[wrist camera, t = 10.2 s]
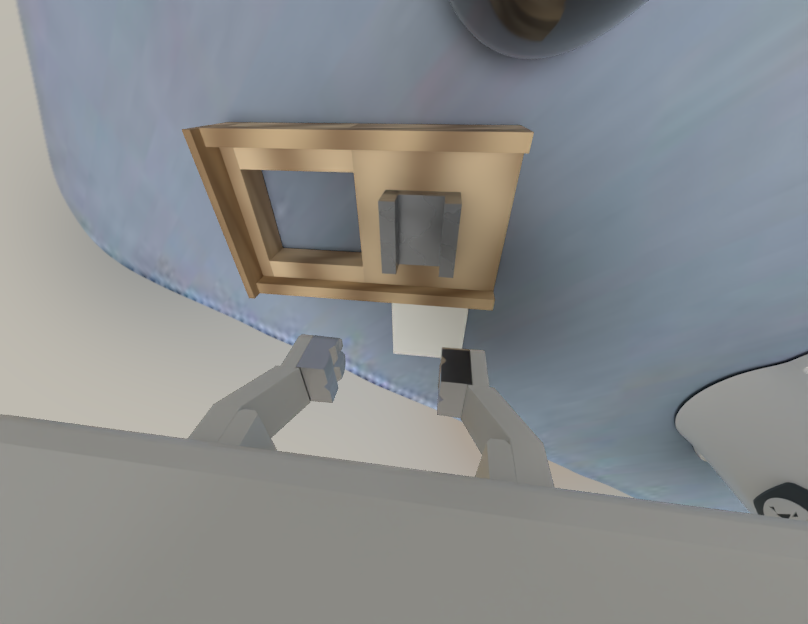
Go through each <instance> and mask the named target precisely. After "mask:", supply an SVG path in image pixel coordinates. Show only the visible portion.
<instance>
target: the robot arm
mask: <svg viewBox="0 0 808 624" xmlns="http://www.w3.org/2000/svg"><path fill="white" fill-rule="evenodd" d="M342 347H343V343H342V339H340V338H333V337H324V336H316V335H315V336H313V335H305V334H302V335H300V336H299V337H298V339H297V340H296V342H295V343H294V345H293V347H292V348H291V350H290V352H289V353H288V355H287V356H286V358H285V360H284V361H283V363H282V365H281V366H275V367H274V368H272V369H270V370H269V371H267V372H265V373H264V374H263V375H261V376H259V377H257V378H256V379H254V380H252V381H251V382H249V383H247V384H246V385H244V386H243V387H241V388H239V389H238V390H236V391H234V392H233V393H231V394H229V395H228V396H226V397H225V398H223V399H222V400H220V401H218V402H216V403H215V404H213V406H212V407H211V408H210V410H209V411H208V412H207V414H206V415H205V416H204V418H203V419H202V420H201V422H200V423H199V424H198V426H197V427H196V428H195V430H194V431H193V432H192V434H191V435H190V436H189V438H188V439H184V438H177V437H169V436H162V435H154V434H147V433H139V432H132V431H124V430H116V429H109V428H102V427H94V426H87V425H79V424H72V423H64V422H56V421H49V420H41V419H34V418H27V417H19V416H12V415H0V624H808V354H807V355H804V356H802V357H799V358H797V359H794V360H792V361H790V362H787V363H783V364H779V365H775V366H771V367H766V368H762V369H757V370H753V371H750V372H746V373H743V374H740V375H736V376H734V377H731V378H728V379H726V380H723V381H721V382H718V383H716V384H714V385H712V386H710V387H708V388H706V389H705V390H703V391H701V392H700V393H698V394H696V395H695V396H694V397H692V398H691V399H690V400H689V401H687V402H686V403H685V404H684V405H683V407H682V408H681V409H680V410H679V412H678V414H677V416H676V420H675V424H676V428H677V430H678V431H679V433H680V434H681V435H682V436H683V437H685V438H686V439H687V440H688V441H689V442H690V443H691V444H692V445H693V447H694V450H695V452H696V453H697V454H698V456H699V457H700V458H701V459H702V460H703V461H707V462H708V463H709V464H710V465H711V466H712V467H713V469H714V470H715V471H716V472H717V473H718V475H719V476H720V477H721V478H722V480H723V481H724V482H725V483H726V484H727V486H728V487H729V488H730V489H731V490H732V492H733V493H734V494H735V495H736V496H737V498H738V499H739V500H740V501H741V502H742V504H743V505H744V506H745V507H746V508H747V510H748V511H749V512H750V513H751V514H749V513H741V512H734V511H726V510H719V509H711V508H704V507H696V506H688V505H681V504H673V503H666V502H658V501H651V500H643V499H635V498H628V497H620V496H613V495H605V494H598V493H590V492H582V491H575V490H567V489H559V488H554V484H553V480H552V476H551V472H550V468H549V464H548V460H547V456H546V452H545V449H544V445H543V443H542V442H541V441H540V439H539V438H538V437H537V436H536V435H535V434H534V433H533V431H532V430H531V429H530V428H529V427H528V426H527V425H526V424H525V422H524V421H523V420H522V419H521V418H520V417H519V416H518V414H517V413H516V412H515V411H514V410H513V409H512V408H511V406H510V405H509V404H508V403H507V402H506V401H505V400H504V399H503V397H502V396H501V395H500V394H499V393H498V392H497V391H496V389H495V388H493V387H489V379H488V371H487V364H486V356H485V352H484V350H472V349H470V350H469V349H459V348H446V347H442V349H441V361H440V368H439V380H438V389H439V390H438V401H437V415H444V416H450V417H458V418H461V420H462V422H463V424H464V425H465V427H466V429H467V430H468V432H469V434H470V435H471V437H472V439H473V441H474V442H475V443H476V446H477V447H478V449H479V451H480V452H481V454H482V457H481V461H480V463H479V466H478V469H477V472H476V475H475V477H469V476H461V475H455V474H447V473H440V472H432V471H424V470H417V469H409V468H402V467H395V466H387V465H380V464H372V463H364V462H356V461H349V460H342V459H335V458H327V457H319V456H312V455H305V454H297V453H290V452H282V451H277V449H276V447H275V445H274V443H273V441H272V440H271V438H272V437H273V436H274V435H275V434H276V433H277V432H278V431H279V430H280V429H282V428H283V427H284V426H285V425H286V424H287V423H288V422H289V421H290V420H291V419H292V418H294V417H295V416H296V415H297V414H298V413H299V412H300V411H301V410H302V409H303V408H305V407H306V406H307V405H308V404H309V403H310V401H318V402H329V403H333V401H334V398H335V395H336V392H337V390H338V384H337V382H338V381H339V380H340V379H342V377H343V374H344V370H345V354H344V353H343V352H342V351H341V350H342Z"/></svg>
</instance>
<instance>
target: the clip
mask: <svg viewBox="0 0 808 624" xmlns="http://www.w3.org/2000/svg"><path fill="white" fill-rule="evenodd" d="M461 207H462V201H461V192H439V191H410V190H385V191H384V193H383V194H382V196H381V197H380V199H379V200H378V210H379V228H380V246H381V264H382V273H384V274H396V273H397V269H398V266H399V264H406V265H422V266H439V277H446V278H453V275H454V267H455V258H456V250H457V241H458V233H459V224H460V216H461Z"/></svg>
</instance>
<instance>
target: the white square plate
mask: <svg viewBox="0 0 808 624" xmlns="http://www.w3.org/2000/svg"><path fill="white" fill-rule="evenodd" d="M467 315H468V309H467V308H453V307H440V306H426V305H413V304H400V303H392V324H393V353H394V354H404V355H414V356H425V357H436V358H441V349H442V347H446V348H459V349H462V345H463V339H464V333H465V327H466V321H467Z"/></svg>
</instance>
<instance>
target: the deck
mask: <svg viewBox="0 0 808 624" xmlns="http://www.w3.org/2000/svg"><path fill="white" fill-rule="evenodd" d="M182 132H183V134H184V137H185V139H186V142H187V144H188V147H189V149H190V152H191V154H192V157H193V159H194V162H195V164H196V166H197V169H198V171H199V174H200V176H201V179H202V181H203V184H204V186H205V189H206V191H207V194H208V196H209V199H210V201H211V204H212V206H213V209H214V211H215V214H216V216H217V219H218V221H219V224H220V226H221V229H222V231H223V234H224V236H225V239H226V241H227V244H228V246H229V249H230V251H231V254H232V256H233V259H234V261H235V264H236V266H237V269H238V271H239V274H240V276H241V279H242V281H243V284H244V286H245V289H246V291H247V294H248V296H249V298H256V297H257V295H258V294H259V293H266V294H279V295H292V296H306V297H319V298H333V299H346V300H359V301H373V302H386V303H400V304H413V305H426V306H440V307H453V308H467V309H480V310H493V306H494V302H495V298H494V293H493V290H494V285H495V281H496V276H497V272H498V267H499V263H500V258H501V254H502V249H503V245H504V240H505V236H506V231H507V227H508V222H509V218H510V213H511V209H512V204H513V200H514V195H515V191H516V186H517V182H518V177H519V173H520V168H521V164H522V159H523V155H524V153H529V151H530V147H531V142H532V138H533V134H534V132H532V131H530V130H529V129H527V128H525V127H523V126H521V125H450V124H354V123H258V122H226V123H220V124H214V125H207V126H201V127H195V128H188V129H182ZM261 170H283V171H318V172H354V181H355V191H356V201H357V211H358V221H359V231H360V241H361V251H362V252H345V251H328V250H310V249H293V248H283V246H282V243H281V239H280V236H279V232H278V228H277V225H276V221H275V218H274V214H273V210H272V207H271V203H270V200H269V196H268V192H267V189H266V185H265V182H264V178H263V174H262V171H261ZM385 190H410V191H439V192H461V201H462V207H461V216H460V224H459V233H458V241H457V250H456V258H455V267H454V275H453V278H446V277H439V266H422V265H406V264H399V266H398V269H397V273H396V274H384V273H382V264H381V246H380V228H379V210H378V200H379V199H380V197H381V196H382V194H383V193H384V191H385Z"/></svg>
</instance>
